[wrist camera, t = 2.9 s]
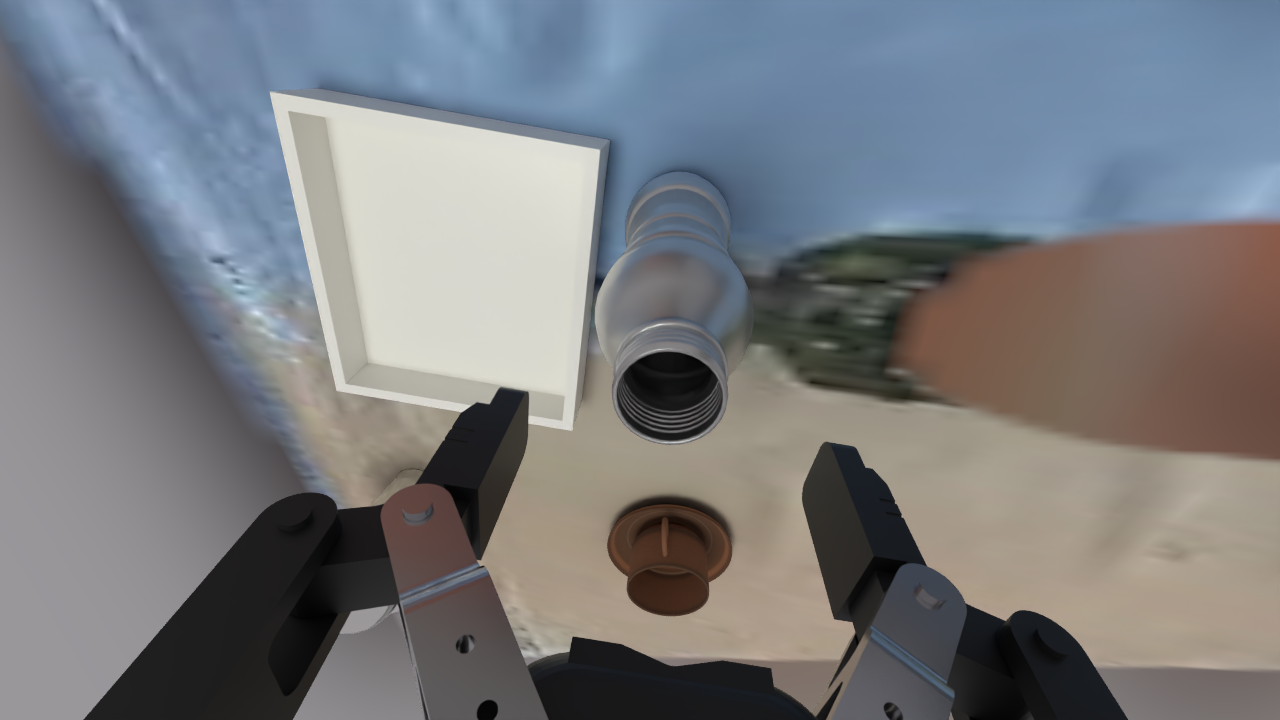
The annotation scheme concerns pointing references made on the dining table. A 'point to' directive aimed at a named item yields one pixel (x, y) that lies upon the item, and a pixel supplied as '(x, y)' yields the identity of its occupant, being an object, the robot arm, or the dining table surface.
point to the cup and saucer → (669, 557)
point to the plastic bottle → (674, 311)
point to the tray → (446, 249)
